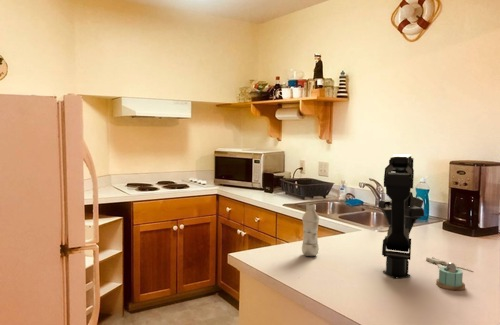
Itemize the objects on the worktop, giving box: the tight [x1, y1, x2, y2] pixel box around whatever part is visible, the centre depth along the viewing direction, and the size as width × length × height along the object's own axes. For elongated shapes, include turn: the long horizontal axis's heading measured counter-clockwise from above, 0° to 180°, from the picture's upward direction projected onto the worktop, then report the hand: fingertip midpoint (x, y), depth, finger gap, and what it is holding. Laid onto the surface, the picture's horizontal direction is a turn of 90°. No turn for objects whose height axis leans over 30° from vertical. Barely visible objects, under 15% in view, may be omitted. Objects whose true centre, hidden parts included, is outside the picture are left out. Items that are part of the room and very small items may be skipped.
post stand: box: [435, 262, 466, 292], centre depth 123 cm, size 8×8×7 cm
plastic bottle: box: [301, 203, 320, 257], centre depth 152 cm, size 6×7×20 cm
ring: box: [438, 266, 464, 287], centre depth 123 cm, size 6×6×4 cm
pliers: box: [425, 256, 474, 273], centre depth 142 cm, size 10×2×15 cm
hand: (399, 231), depth 143 cm, fingers open, 9 cm apart
